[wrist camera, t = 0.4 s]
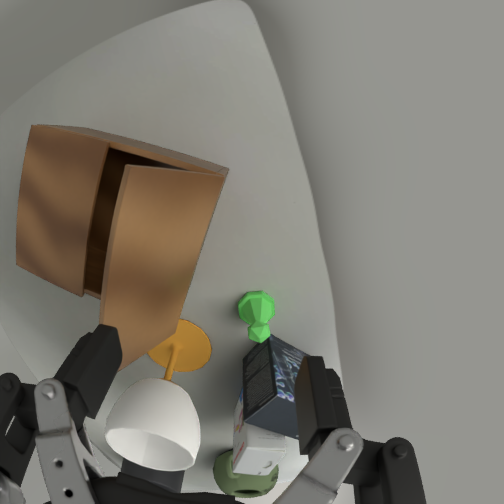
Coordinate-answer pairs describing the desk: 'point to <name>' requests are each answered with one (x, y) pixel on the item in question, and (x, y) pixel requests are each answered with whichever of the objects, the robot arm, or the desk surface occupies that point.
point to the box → (271, 386)
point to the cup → (161, 407)
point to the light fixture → (155, 475)
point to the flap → (153, 252)
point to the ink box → (255, 446)
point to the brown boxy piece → (80, 200)
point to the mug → (241, 479)
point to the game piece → (257, 314)
